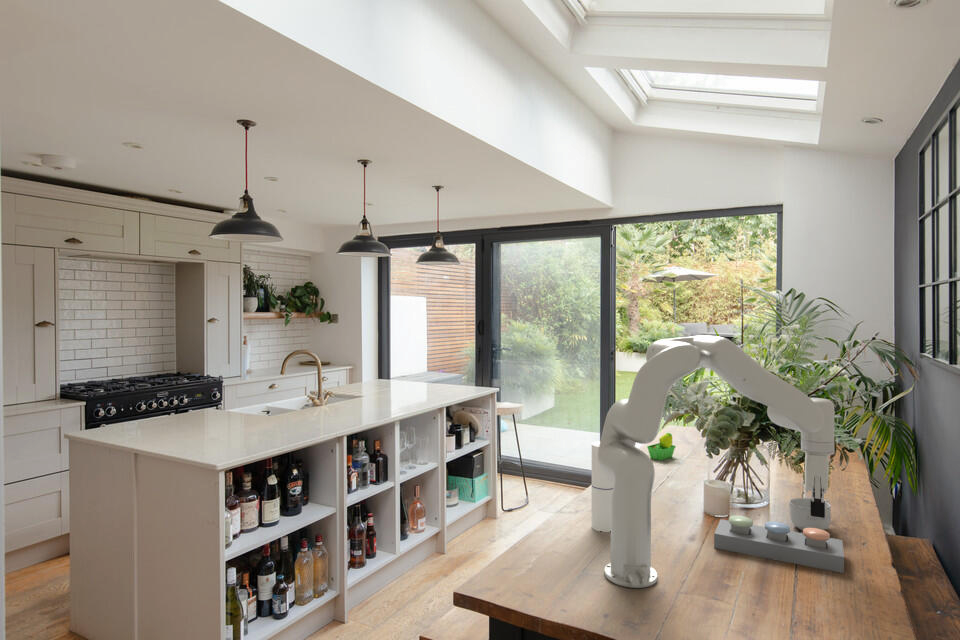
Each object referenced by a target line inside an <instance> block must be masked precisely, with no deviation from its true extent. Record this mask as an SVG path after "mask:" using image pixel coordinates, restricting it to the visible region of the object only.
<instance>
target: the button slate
mask: <svg viewBox="0 0 960 640" xmlns="http://www.w3.org/2000/svg"><path fill="white" fill-rule="evenodd" d="M764 527H765V529H766V530H768V539H774V540H780V541H785V542H787V533H789V532H790V531H791V527H790V525H788V524H786V523H783V522H779V521H766V522H764Z"/></svg>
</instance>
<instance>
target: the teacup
mask: <svg viewBox="0 0 960 640" xmlns="http://www.w3.org/2000/svg"><path fill="white" fill-rule="evenodd" d="M811 499H812V497H797V498H796V497H795V498H791V499H789V500H788V503H789V516H790V521H791V522H792V524H793V525H794V526H796V528H798V529H799V530H800V531H803V529H804V528H817V529H821V530H824V531H826V530H828V528H829V527H830V526H831V523H832V514H831V508H832V507H831V506H832V504H830V502H829V501H828V500H827V499H824V501H825V517H824V518H820V517H814V516H811Z"/></svg>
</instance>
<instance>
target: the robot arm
mask: <svg viewBox="0 0 960 640" xmlns="http://www.w3.org/2000/svg"><path fill="white" fill-rule="evenodd" d="M645 358H646V362H644V363H643V365H642V366H641V367H640V368H639V370H638V371H637V372H636V376H634V380H633V383H632V386H631V388H630V389H631V390H630V393H629V397H628V398H621V399H619V400H617V401H616V402H614V403H613V404H612V405H611V407H610V408H609V410H608V411H607V414H606V416H605V421H604V423H603V429H602V433H601V437H600V445H599V450H598V462H599V465H600V467H601V469H602V470H603V471H604V472H605V473H606V474H608V475H609V476H610V477H612V478H613V479H614V488H613V491H612V496H611V532H610V562H608V563H607V564H606V565H605V566H604V568H603V574H604V576H605V578H607V580H609V581H610V582H611V583H613V584H614V585H615V584H616V585H618V586H621V587H626V588H629V589H630V588H633V589H643V588H647V587H651V586H653V585H655V584H656V583H657V581H658V572H657V571H656V570H655V568H653V567H652V563H651V562H652V557H651V556H652V493H653V486H654V482H655V474H656V472H655V465H654V463H653V461H652V458H650V455H647V454H646V453H645V452H644V451H643V450H641V449H639V448H638V447H636V445H637V444H641V445H646V444H650V443H652V442H653V441H654V440H655V439H656V438H657V436H658V435H659V431H660V428H661V427H660V426H661V422H662V418H663V414H664V411H665V405H666V402H667V397H668V395H669V392H670V390H671V389H672V387H673V386H674V385H675V383H677V382H678V381H679V380H680V379H683V378H684V377H686V376H689V375H691V374H693V373H694V372H695V371H696V370H697V369H698V368H703V369H709V370H711V371H712V372H714V373H715V374H716V375H717V376H719V377H720V378H721V380H724V381H725V382H726V383H727V384H729V386H731V387H732V388H733V389H735V391H737V393H739V394H741V395H742V396H743V397H746V398H748V399H750V400H751V401H753V402H756V403H760V404H762V405H765V406H767V409H766V413H767V416H768V419H769V420H770V421H771V422H772V423H773V424H774V425H777V426H779V427H782V428H785V429H789V430H794V431H797V432H800V451H801V452H803V453H805V456H804V491H805V492H807V493H808V492H809V491H811V498H812V499H811V516H814V517H820V518H824V517H825V501H824V500H825V499H824V497H825V494H826V493H828V486H829V484H828V483H829V475H830V472H829V471H830V456H832V455H835V404H834V402H833V401H832V400H831V399H827V398H822V397H821V398H820V397H809V395H807V394H806V393H804V392H803V391H802V390H800V389H798V388H797V387H796V386H794V385H792V384H791V383H789V382H788V381H786V380H784V379H782V378H780V377H779V376H777V375H775V373H772V372H771V371H769V370H767V369H766V368H764V367H763V366H762V365H760V363H758V362H757V361H756V360H755V359H754V358H752V357H751V356H750V355H748V353H746V352H745V351H744V349H742V348H741V347H740V346H738V345H737V344H736V343H734V342H733V341H732V340H730V339H729V338H727V337H724V336H723V337H722V336H717V335H716V336H715V335H705V334H703V335H702V334H701V335H691V336H684V337H673V338H664V339H658V340H655V341H653V342H652V343H651V344H650V345H649V346H648V348H647V349H646V353H645ZM636 443H637V444H636Z"/></svg>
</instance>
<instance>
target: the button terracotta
mask: <svg viewBox="0 0 960 640" xmlns="http://www.w3.org/2000/svg"><path fill="white" fill-rule="evenodd" d="M802 533H803V535H804V536H805V537H806V545H807V546H813V547H819V548H824V549H826V540H829V538H831V537H830V536H831V534H830V533H829V532H828V531H826V530H821V529H817V528H804V529H803V530H802Z"/></svg>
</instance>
